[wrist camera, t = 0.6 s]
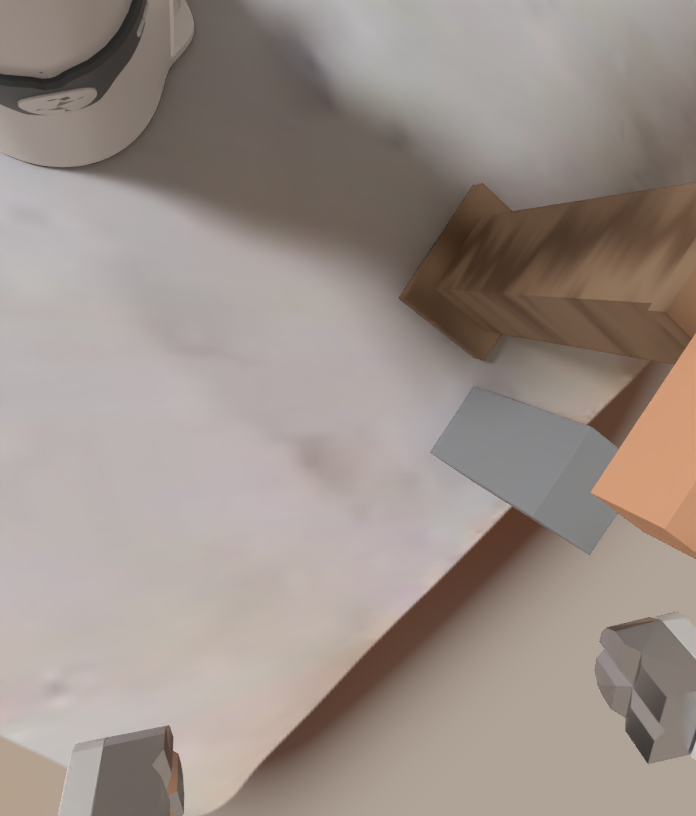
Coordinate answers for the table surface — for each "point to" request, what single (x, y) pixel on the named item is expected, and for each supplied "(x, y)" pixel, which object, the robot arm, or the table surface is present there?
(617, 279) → the walnut tower
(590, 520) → the slate pillar
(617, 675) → the robot arm
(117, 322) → the table surface
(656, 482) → the terracotta beam
